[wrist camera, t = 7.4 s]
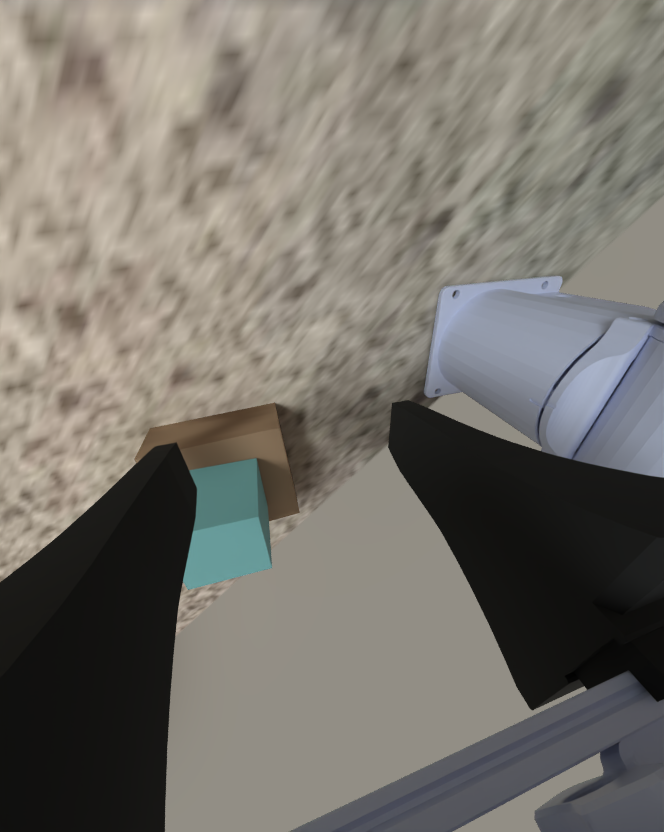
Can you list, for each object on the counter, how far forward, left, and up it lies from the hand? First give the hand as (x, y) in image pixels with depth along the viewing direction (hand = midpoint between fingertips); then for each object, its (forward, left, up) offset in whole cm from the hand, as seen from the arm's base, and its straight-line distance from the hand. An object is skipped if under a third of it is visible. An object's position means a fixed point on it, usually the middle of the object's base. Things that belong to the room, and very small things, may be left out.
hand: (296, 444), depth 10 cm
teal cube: (+4, +8, -6) cm, 11 cm away
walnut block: (+4, +8, -10) cm, 13 cm away
